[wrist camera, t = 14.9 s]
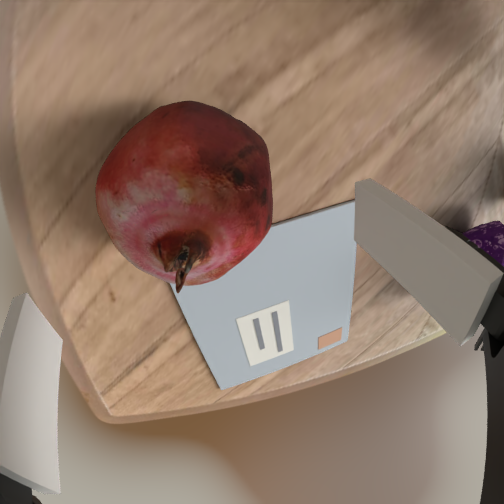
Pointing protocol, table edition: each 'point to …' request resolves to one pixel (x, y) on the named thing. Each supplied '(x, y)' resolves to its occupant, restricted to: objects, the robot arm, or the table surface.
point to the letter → (278, 298)
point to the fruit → (186, 193)
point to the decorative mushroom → (489, 239)
